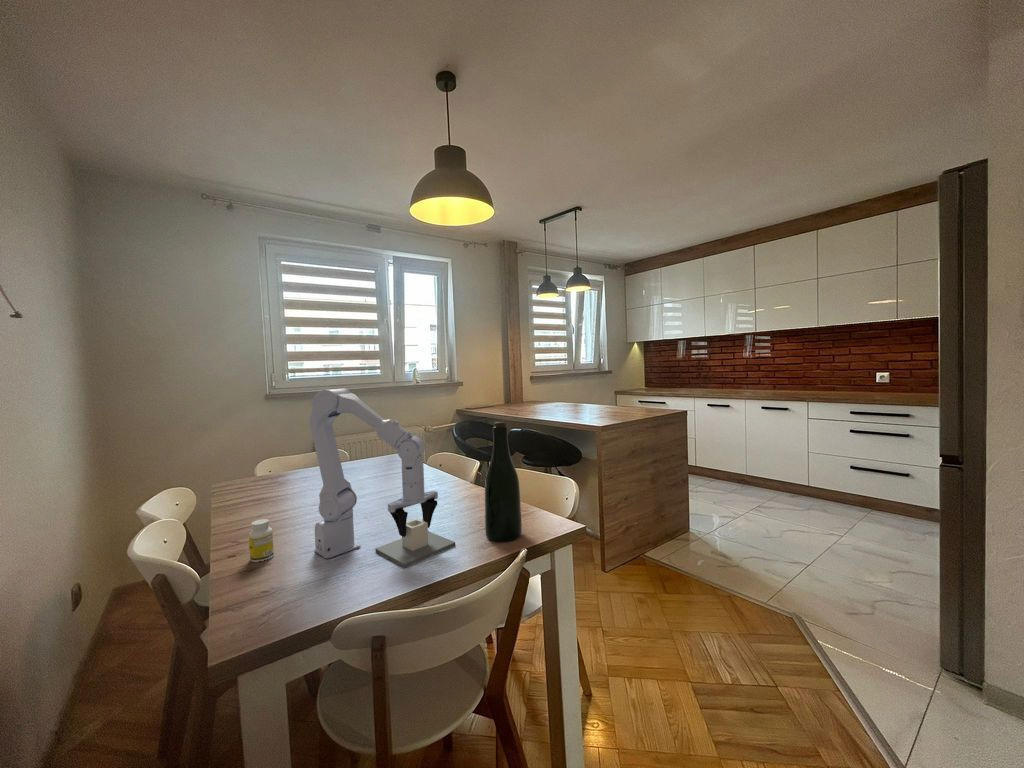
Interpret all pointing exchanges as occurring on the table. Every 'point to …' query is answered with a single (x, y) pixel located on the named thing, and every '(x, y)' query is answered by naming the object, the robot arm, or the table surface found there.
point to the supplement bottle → (261, 541)
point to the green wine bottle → (502, 491)
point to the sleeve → (415, 534)
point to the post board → (409, 557)
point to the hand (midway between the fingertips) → (415, 531)
